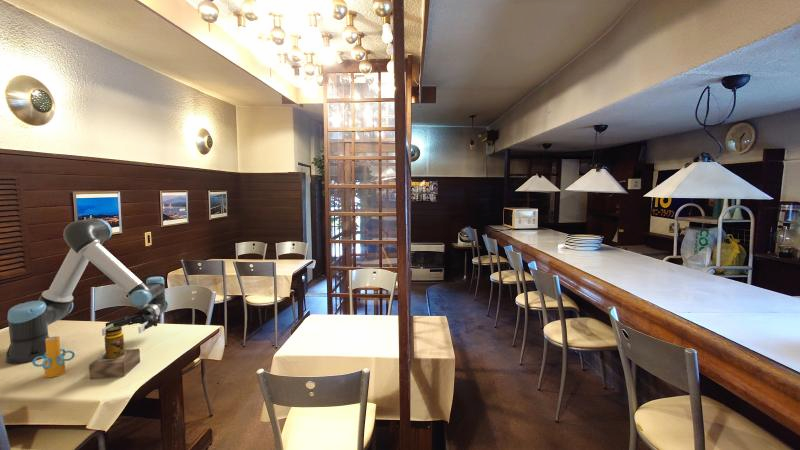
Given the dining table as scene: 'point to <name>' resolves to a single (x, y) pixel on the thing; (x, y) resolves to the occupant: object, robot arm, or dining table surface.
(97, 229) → the robot arm
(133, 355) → the riser
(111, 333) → the condiment
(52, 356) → the cylinder
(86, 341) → the dining table surface
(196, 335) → the dining table surface
